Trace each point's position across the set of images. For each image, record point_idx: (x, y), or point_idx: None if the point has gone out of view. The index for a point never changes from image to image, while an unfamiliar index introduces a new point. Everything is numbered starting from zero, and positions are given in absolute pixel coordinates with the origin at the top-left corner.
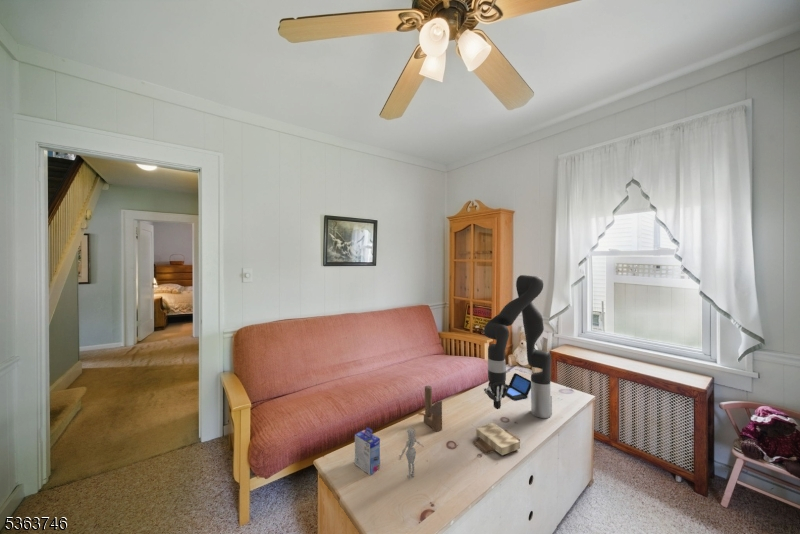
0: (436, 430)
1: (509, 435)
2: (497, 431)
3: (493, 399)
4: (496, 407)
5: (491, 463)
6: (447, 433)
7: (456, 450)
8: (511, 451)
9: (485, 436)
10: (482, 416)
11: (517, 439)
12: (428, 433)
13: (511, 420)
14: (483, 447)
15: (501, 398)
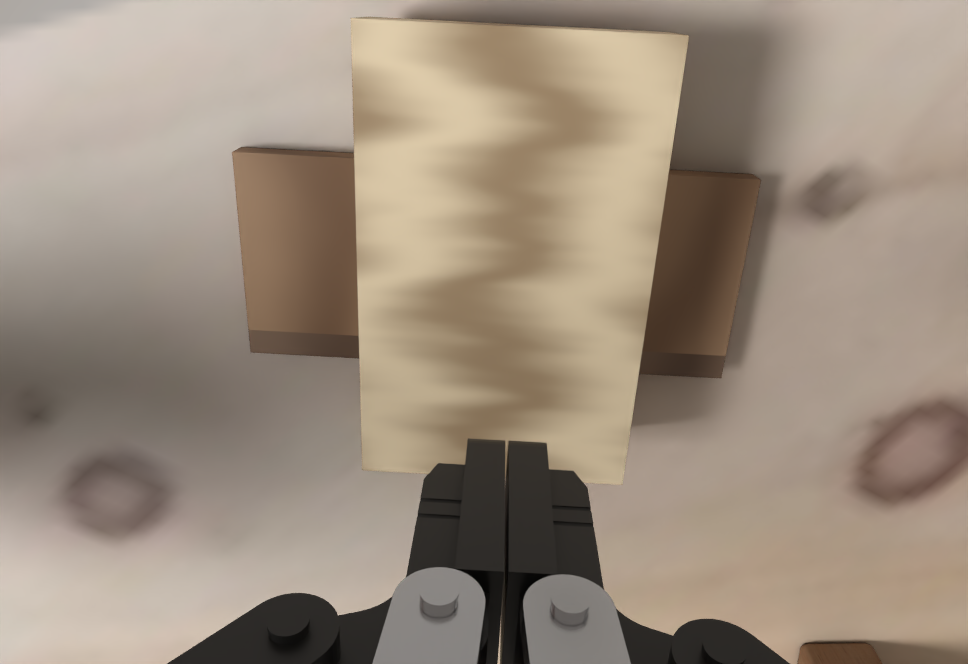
0: (876, 654)
1: (378, 188)
2: (449, 323)
3: (769, 658)
4: (566, 478)
5: (844, 21)
6: (803, 586)
7: (955, 367)
8: (512, 24)
9: (642, 331)
10: None
11: (264, 160)
12: (945, 657)
13: (56, 455)
14: (726, 249)
15: (400, 603)
